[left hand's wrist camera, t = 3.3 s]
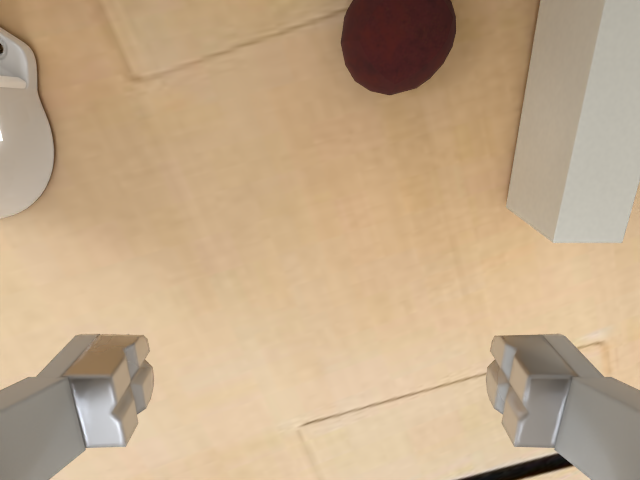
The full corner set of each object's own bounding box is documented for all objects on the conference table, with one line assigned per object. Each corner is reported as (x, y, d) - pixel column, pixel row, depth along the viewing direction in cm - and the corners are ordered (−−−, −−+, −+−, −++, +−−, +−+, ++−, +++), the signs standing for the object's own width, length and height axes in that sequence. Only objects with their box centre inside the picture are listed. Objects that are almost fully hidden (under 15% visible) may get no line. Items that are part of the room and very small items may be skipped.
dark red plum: (458, 36, 32) (493, 26, 26) (383, 113, 34) (398, 122, 28) (392, -43, 31) (411, -76, 24) (316, 43, 33) (315, 35, 26)
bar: (561, 207, 37) (622, 243, 29) (505, 207, 37) (552, 243, 29) (650, -205, 27) (777, -311, 19) (574, -205, 27) (672, -311, 19)
